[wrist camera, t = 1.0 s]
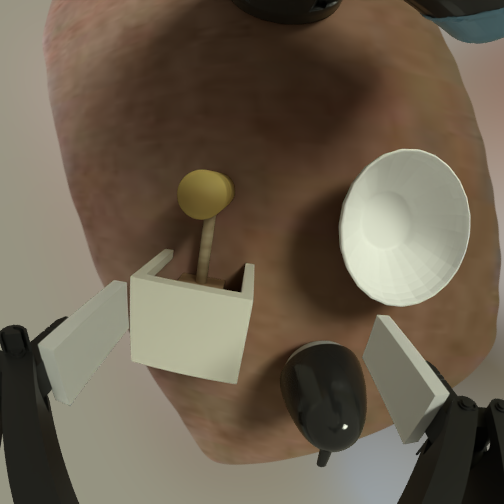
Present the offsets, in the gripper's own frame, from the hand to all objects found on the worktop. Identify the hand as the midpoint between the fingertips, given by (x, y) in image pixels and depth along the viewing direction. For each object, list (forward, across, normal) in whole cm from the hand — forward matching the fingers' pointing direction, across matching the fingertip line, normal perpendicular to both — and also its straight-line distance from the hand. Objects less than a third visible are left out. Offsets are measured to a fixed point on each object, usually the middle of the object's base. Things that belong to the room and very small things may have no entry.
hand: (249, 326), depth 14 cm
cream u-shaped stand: (+19, -6, -7) cm, 21 cm away
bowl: (+19, +15, +5) cm, 25 cm away
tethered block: (+19, -5, -2) cm, 20 cm away
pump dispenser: (+19, +10, -15) cm, 26 cm away
